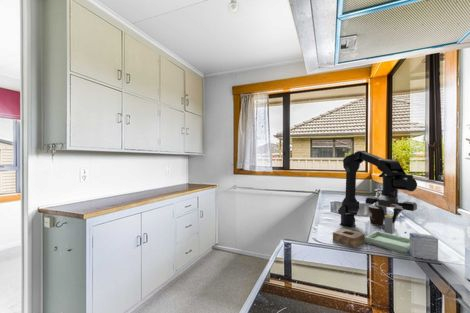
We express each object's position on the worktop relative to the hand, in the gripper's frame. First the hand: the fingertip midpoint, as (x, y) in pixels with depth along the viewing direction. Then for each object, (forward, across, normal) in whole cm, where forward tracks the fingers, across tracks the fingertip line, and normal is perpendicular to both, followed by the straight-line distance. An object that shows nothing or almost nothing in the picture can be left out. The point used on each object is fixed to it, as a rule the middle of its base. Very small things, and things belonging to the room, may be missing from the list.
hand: (389, 222), depth 103 cm
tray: (+10, 0, 0) cm, 10 cm away
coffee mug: (+10, -15, +28) cm, 33 cm away
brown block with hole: (+10, -13, -12) cm, 20 cm away
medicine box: (+10, +13, -5) cm, 17 cm away
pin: (+5, 0, 0) cm, 5 cm away
